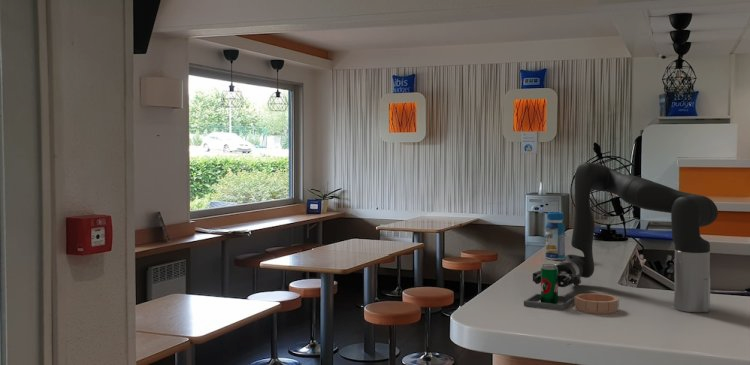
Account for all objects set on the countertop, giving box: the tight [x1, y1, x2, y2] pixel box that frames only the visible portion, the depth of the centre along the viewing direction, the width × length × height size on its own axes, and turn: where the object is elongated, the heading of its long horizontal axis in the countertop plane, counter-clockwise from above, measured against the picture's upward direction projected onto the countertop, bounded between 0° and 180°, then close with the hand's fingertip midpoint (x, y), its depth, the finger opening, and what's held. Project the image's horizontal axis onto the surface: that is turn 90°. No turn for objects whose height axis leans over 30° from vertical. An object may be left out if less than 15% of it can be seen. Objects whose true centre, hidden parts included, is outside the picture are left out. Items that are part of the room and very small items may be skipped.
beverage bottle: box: [544, 211, 566, 261], centre depth 288 cm, size 8×8×20 cm
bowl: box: [573, 292, 620, 315], centre depth 196 cm, size 12×12×4 cm
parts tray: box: [523, 293, 575, 311], centre depth 203 cm, size 12×12×2 cm
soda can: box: [540, 263, 559, 304], centre depth 203 cm, size 5×5×12 cm
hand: (550, 281), depth 204 cm, fingers open, 8 cm apart
